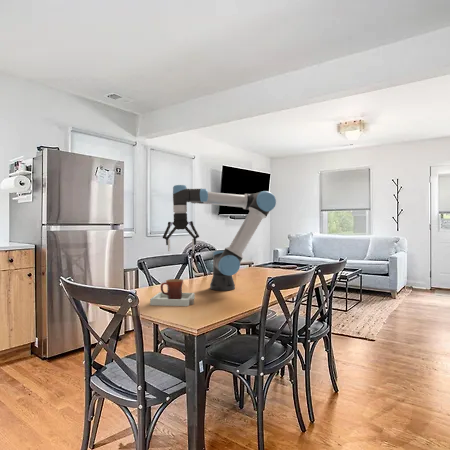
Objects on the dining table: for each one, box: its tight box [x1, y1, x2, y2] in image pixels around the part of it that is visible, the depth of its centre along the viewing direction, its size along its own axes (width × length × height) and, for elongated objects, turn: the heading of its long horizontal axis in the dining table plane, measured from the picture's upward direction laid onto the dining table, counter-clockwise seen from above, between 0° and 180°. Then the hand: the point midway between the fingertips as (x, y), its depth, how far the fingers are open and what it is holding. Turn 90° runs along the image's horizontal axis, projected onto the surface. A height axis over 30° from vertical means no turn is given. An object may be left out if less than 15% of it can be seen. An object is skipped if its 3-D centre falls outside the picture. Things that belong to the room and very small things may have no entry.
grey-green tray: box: [149, 291, 195, 307], centre depth 182 cm, size 21×17×3 cm
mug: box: [160, 278, 184, 299], centre depth 182 cm, size 12×9×10 cm
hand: (181, 250), depth 199 cm, fingers open, 13 cm apart
